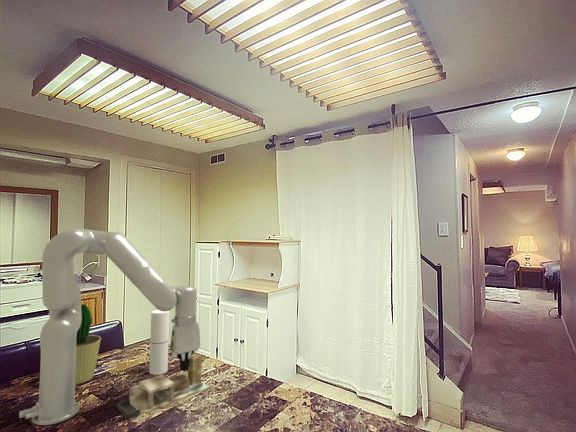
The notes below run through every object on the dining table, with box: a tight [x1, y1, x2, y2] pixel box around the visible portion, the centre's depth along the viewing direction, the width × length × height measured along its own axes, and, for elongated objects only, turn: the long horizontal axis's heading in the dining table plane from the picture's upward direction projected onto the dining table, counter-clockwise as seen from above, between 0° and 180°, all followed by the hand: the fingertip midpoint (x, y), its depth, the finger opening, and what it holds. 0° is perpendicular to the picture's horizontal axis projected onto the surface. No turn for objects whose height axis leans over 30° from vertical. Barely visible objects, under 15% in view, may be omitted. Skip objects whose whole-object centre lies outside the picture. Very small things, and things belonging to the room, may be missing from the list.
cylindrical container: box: [149, 309, 170, 376], centre depth 141 cm, size 7×7×25 cm
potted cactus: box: [75, 303, 102, 385], centre depth 134 cm, size 15×15×30 cm
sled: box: [153, 353, 204, 401], centre depth 121 cm, size 16×6×11 cm, turn 136°
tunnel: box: [116, 374, 211, 420], centre depth 118 cm, size 30×10×6 cm, turn 136°
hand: (184, 369), depth 123 cm, fingers closed
